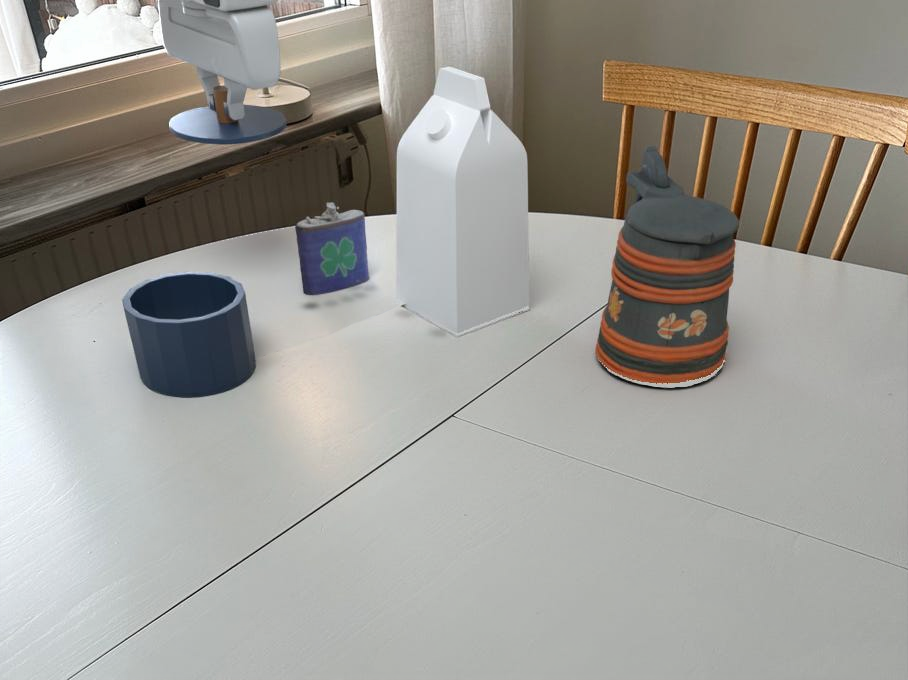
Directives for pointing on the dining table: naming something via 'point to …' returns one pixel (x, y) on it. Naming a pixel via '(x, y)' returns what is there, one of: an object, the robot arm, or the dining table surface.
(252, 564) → the dining table surface
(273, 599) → the dining table surface
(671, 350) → the beer stein
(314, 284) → the flask
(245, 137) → the pot lid
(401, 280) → the milk
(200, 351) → the pot
